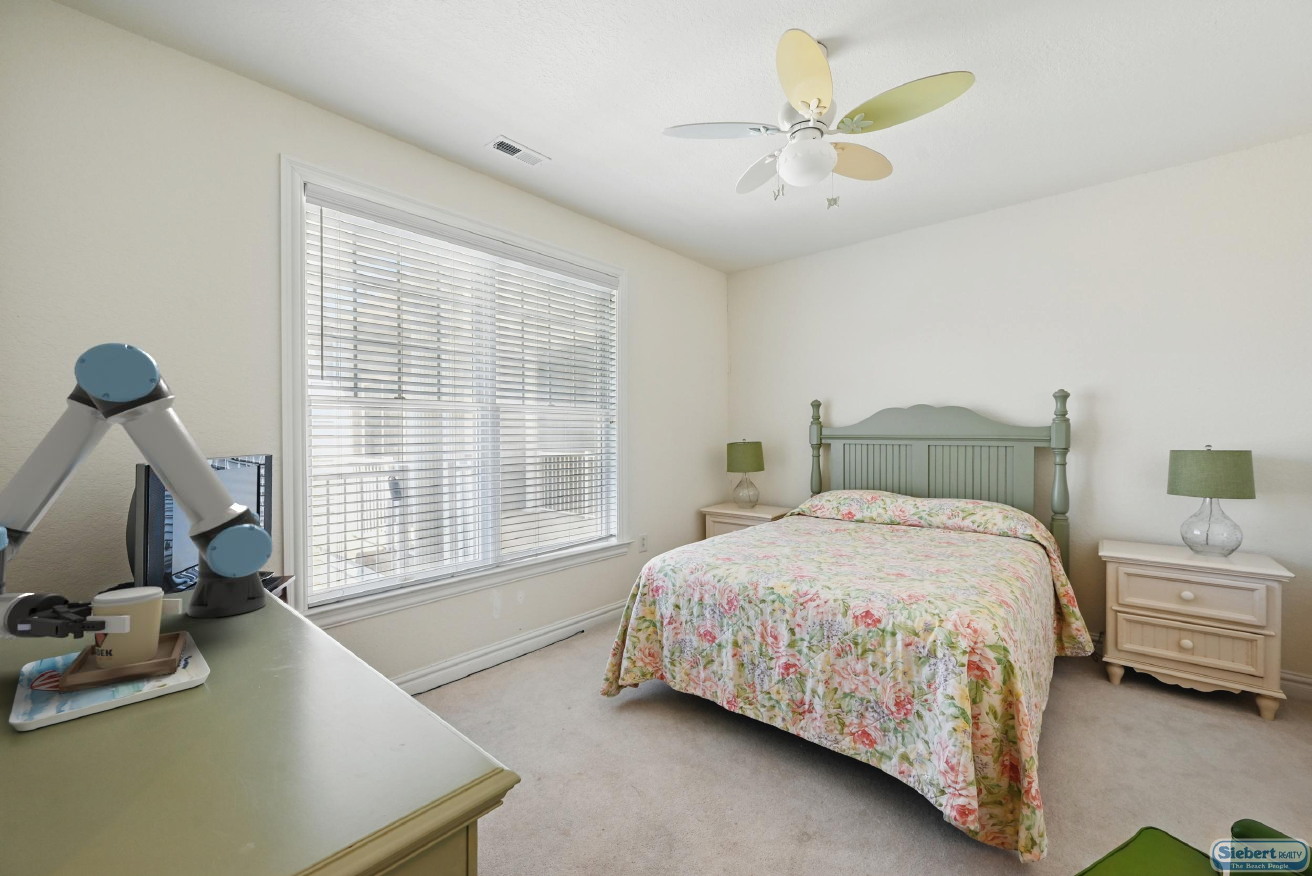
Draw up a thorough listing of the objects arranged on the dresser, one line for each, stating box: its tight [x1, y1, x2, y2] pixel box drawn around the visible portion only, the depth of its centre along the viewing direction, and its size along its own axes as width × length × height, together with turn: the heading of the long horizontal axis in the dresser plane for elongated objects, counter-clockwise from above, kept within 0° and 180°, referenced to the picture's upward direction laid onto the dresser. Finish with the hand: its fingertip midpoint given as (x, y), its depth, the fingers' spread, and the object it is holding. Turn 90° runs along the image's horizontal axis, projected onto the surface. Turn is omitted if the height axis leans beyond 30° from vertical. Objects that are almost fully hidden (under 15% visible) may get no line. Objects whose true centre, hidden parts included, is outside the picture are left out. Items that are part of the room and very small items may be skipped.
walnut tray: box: [58, 630, 187, 693], centre depth 98 cm, size 14×18×2 cm
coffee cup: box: [91, 586, 165, 669], centre depth 98 cm, size 9×9×12 cm
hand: (155, 614), depth 99 cm, fingers open, 10 cm apart
